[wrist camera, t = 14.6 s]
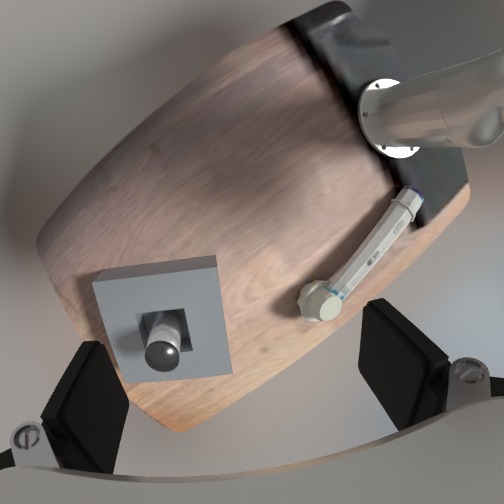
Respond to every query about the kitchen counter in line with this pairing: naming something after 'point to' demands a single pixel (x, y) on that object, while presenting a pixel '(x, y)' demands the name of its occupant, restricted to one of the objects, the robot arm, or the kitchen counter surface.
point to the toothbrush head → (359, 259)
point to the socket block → (158, 299)
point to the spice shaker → (164, 341)
